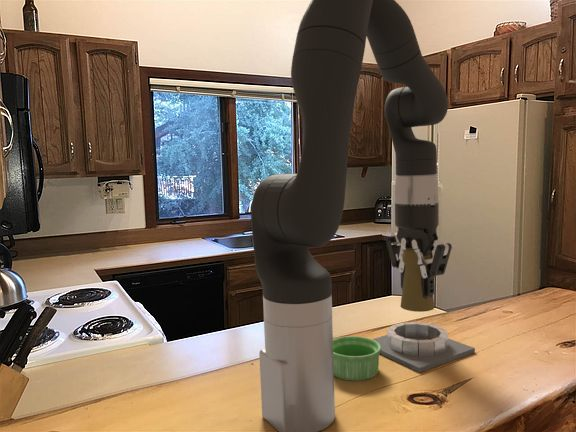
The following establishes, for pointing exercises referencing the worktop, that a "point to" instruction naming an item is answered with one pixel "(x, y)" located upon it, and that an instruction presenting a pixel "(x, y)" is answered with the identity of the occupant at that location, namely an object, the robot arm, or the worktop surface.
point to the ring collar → (417, 347)
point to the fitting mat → (427, 362)
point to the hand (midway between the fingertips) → (417, 294)
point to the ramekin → (355, 357)
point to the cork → (414, 284)
